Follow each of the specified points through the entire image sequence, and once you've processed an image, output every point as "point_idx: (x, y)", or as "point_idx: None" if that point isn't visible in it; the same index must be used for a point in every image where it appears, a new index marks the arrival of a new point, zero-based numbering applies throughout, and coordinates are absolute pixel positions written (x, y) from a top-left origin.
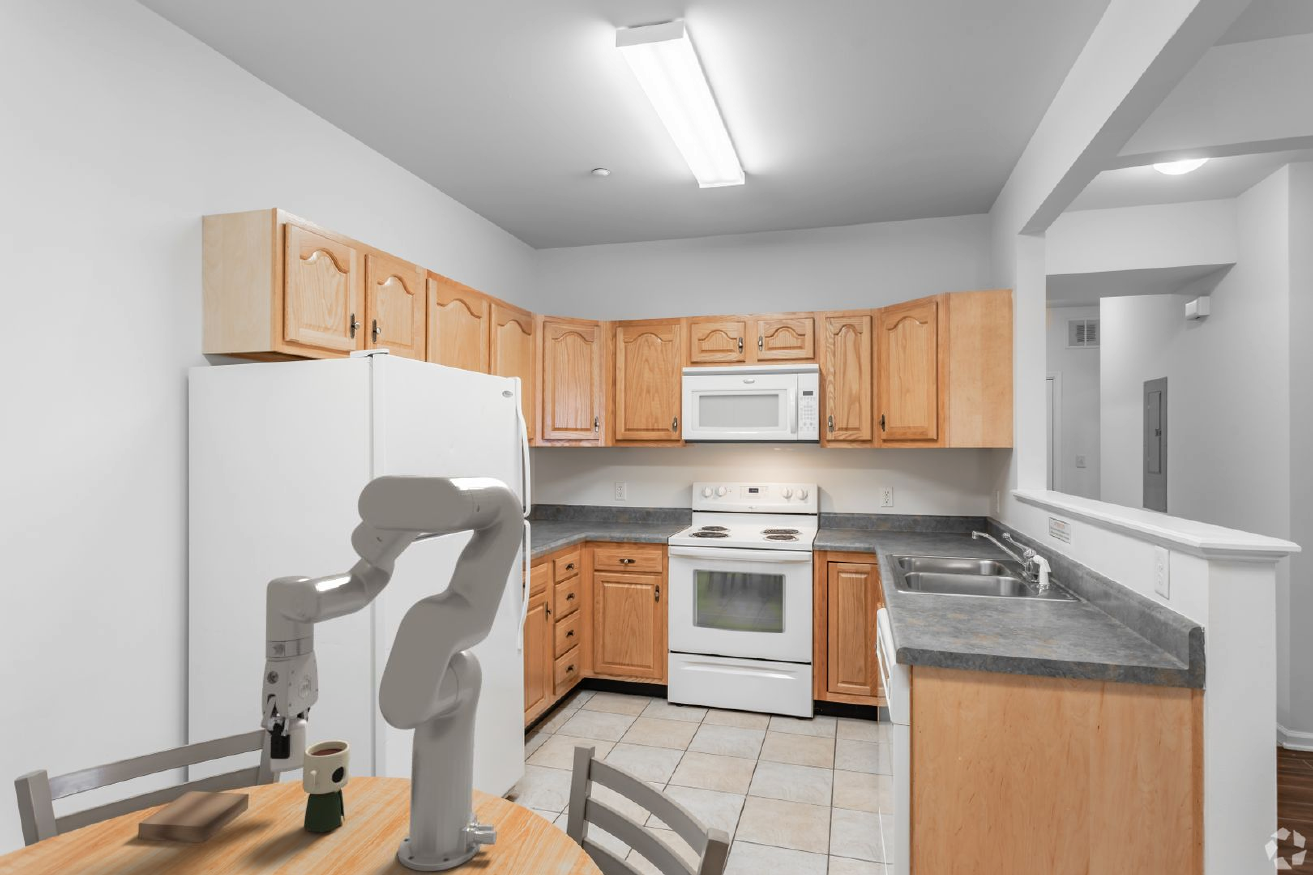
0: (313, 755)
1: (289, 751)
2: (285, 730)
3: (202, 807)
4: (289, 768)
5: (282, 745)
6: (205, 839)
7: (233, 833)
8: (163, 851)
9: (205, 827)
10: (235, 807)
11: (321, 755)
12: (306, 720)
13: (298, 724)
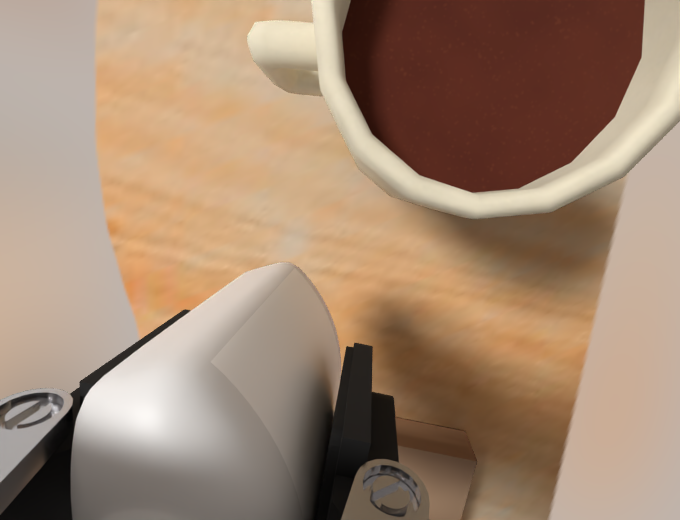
0: (461, 161)
1: (358, 358)
2: (377, 509)
3: None
4: (332, 321)
5: (381, 425)
6: (455, 430)
7: (426, 377)
8: (495, 498)
9: (468, 454)
10: None
11: (473, 95)
12: (35, 403)
13: (225, 437)
